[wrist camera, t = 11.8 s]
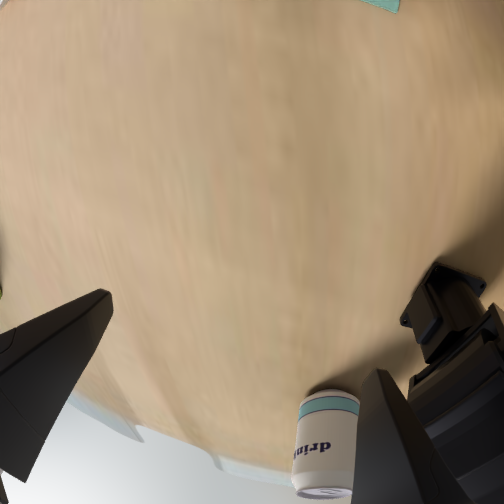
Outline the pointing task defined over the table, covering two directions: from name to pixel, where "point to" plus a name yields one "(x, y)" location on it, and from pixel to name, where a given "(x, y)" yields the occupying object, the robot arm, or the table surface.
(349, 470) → the beverage can
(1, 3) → the salad plate
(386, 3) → the board
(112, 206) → the table surface
